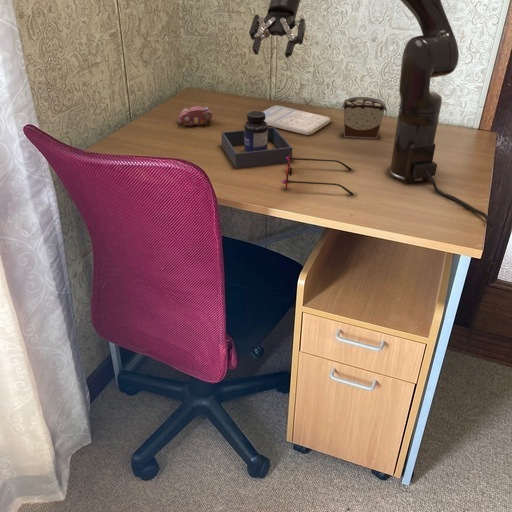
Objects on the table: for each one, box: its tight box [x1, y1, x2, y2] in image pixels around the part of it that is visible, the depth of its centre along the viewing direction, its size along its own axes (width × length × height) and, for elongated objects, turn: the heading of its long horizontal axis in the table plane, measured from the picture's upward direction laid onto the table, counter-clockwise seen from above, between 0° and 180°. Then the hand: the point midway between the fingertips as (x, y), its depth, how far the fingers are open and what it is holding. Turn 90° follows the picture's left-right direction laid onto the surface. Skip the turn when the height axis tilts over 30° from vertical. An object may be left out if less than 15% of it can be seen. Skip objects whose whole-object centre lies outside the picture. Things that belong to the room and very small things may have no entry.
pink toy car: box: [178, 105, 213, 127], centre depth 168 cm, size 10×5×7 cm, turn 105°
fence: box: [221, 126, 293, 169], centre depth 151 cm, size 15×15×4 cm
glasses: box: [282, 153, 354, 196], centre depth 138 cm, size 14×16×5 cm
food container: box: [341, 96, 387, 140], centre depth 162 cm, size 12×6×10 cm, turn 84°
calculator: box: [262, 105, 331, 136], centre depth 171 cm, size 13×20×2 cm, turn 56°
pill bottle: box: [243, 110, 269, 152], centre depth 149 cm, size 6×6×11 cm
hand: (271, 54), depth 149 cm, fingers open, 8 cm apart
